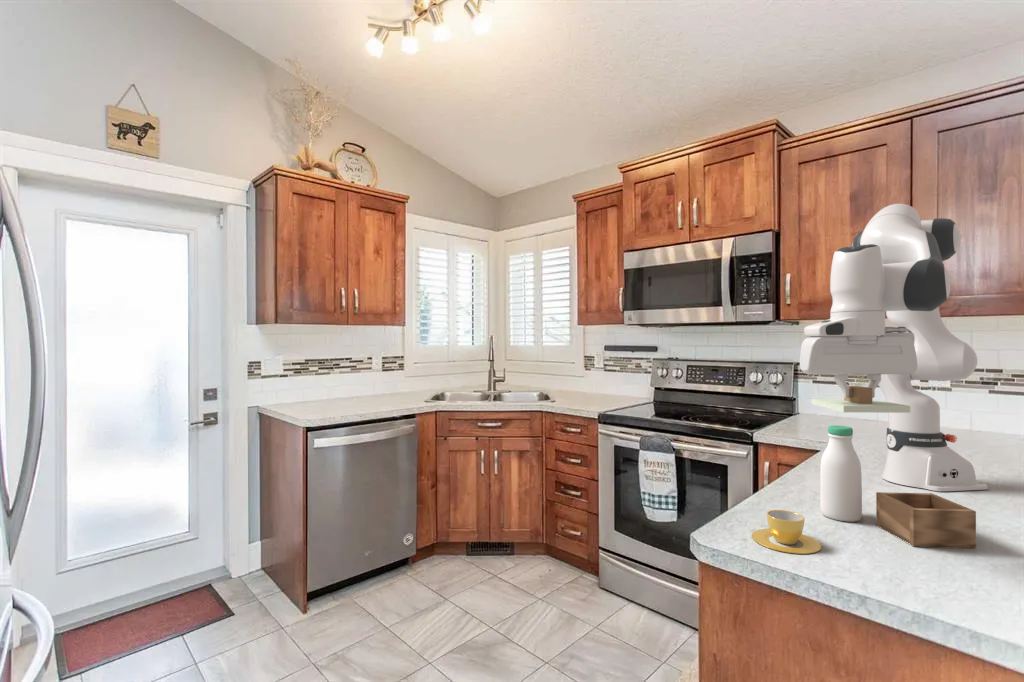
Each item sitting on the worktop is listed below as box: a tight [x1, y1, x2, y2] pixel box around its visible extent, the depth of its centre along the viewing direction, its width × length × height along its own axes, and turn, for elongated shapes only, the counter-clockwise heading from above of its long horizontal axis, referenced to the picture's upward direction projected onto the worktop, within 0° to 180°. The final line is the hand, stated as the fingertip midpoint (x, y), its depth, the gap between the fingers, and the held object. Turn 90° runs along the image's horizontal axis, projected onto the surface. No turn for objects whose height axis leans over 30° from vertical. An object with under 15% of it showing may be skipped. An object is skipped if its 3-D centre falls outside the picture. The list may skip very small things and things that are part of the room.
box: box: [875, 491, 977, 549], centre depth 100 cm, size 11×11×7 cm
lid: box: [811, 385, 910, 414], centre depth 98 cm, size 12×12×4 cm
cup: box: [751, 509, 822, 555], centre depth 98 cm, size 12×12×5 cm
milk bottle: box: [819, 425, 863, 523], centre depth 111 cm, size 8×8×20 cm
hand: (857, 397), depth 98 cm, fingers closed on lid, 2 cm apart
